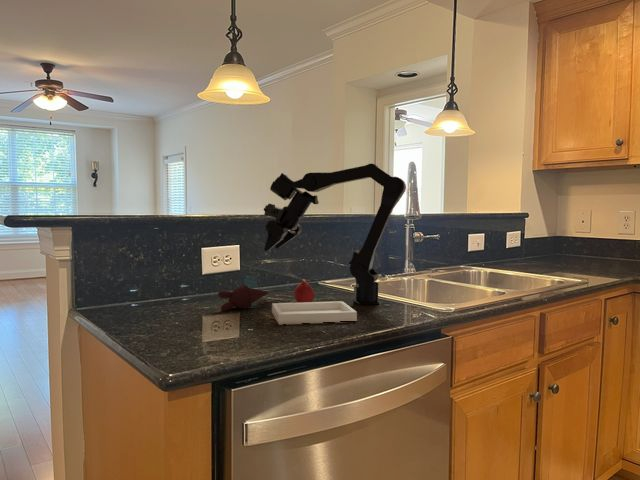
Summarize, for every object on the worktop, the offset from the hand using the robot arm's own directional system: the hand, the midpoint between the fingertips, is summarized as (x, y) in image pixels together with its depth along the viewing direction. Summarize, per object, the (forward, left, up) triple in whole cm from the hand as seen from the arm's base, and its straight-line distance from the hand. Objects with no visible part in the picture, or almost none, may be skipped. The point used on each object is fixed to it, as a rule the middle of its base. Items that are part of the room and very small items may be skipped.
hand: (271, 249), depth 151 cm
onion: (-7, +18, -15) cm, 25 cm away
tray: (-7, +30, -15) cm, 34 cm away
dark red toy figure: (+10, +17, -15) cm, 25 cm away
